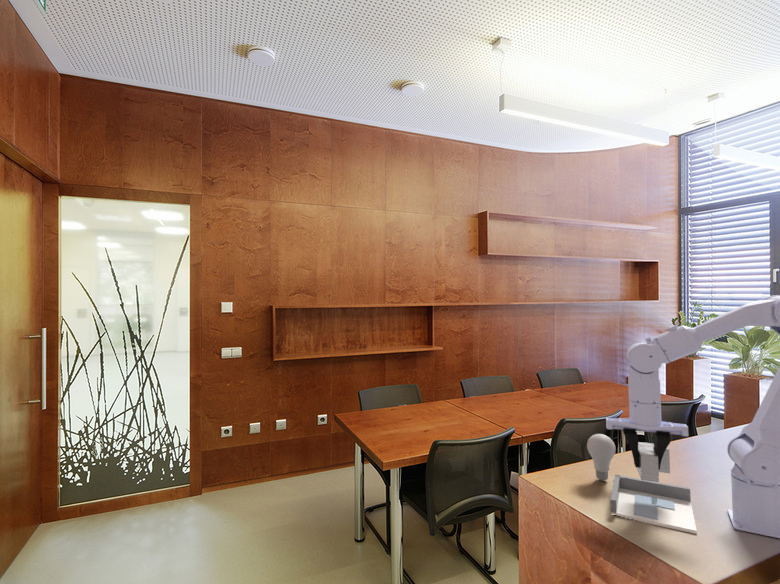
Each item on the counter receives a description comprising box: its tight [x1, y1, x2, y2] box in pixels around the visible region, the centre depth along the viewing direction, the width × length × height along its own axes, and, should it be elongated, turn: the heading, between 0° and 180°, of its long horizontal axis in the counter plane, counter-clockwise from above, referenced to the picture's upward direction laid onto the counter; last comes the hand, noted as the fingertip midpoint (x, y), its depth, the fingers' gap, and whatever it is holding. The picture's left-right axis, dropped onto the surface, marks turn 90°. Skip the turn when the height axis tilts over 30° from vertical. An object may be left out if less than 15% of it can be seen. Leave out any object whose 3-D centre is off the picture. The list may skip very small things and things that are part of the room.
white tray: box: [609, 474, 698, 535], centre depth 86 cm, size 14×14×3 cm
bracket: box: [635, 441, 671, 482], centre depth 87 cm, size 9×6×5 cm, turn 157°
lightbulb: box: [586, 433, 617, 482], centre depth 100 cm, size 6×6×11 cm
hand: (646, 466), depth 87 cm, fingers closed on bracket, 3 cm apart
